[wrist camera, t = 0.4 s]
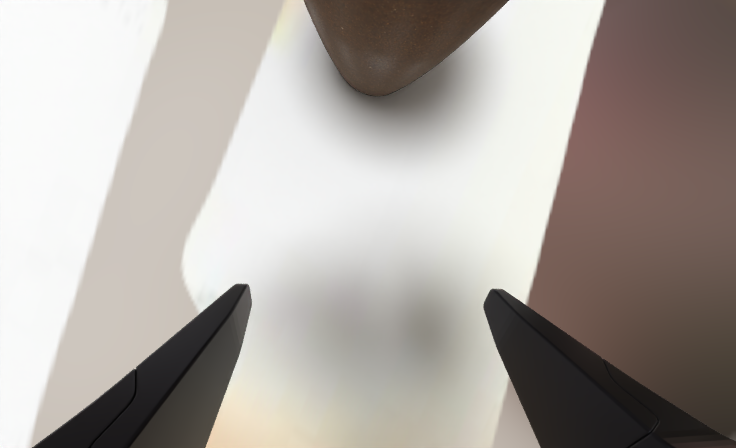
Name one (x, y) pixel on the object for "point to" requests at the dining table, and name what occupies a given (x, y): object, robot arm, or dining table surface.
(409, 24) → the plant pot
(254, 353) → the dining table surface
